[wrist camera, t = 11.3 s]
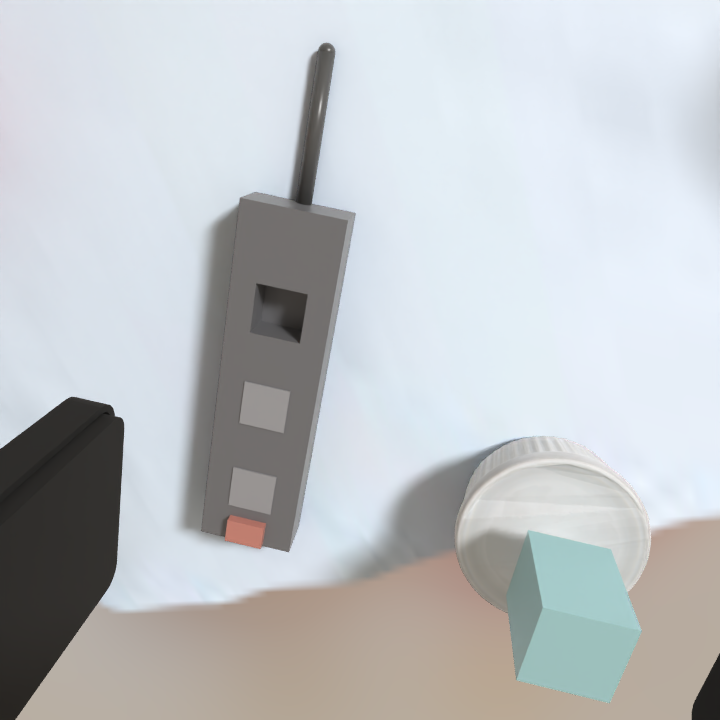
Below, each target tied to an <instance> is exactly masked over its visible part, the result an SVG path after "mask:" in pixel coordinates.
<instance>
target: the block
mask: <svg viewBox="0 0 720 720" xmlns="http://www.w3.org/2000/svg"><path fill="white" fill-rule="evenodd" d="M506 598H507V606H508V615H509V623H510V631H511V640H512V648H513V657H514V664H515V674H516V680H518V681H522V682H526V683H530V684H534V685H538V686H542V687H546V688H550V689H554V690H558V691H562V692H566V693H570V694H574V695H578V696H583V697H587V698H591V699H595V700H599V701H603V702H607V703H610V701H611V699H612V697H613V694H614V692H615V690H616V688H617V686H618V683H619V681H620V679H621V677H622V674H623V672H624V670H625V668H626V665H627V663H628V661H629V659H630V657H631V654H632V652H633V650H634V648H635V645H636V643H637V641H638V639H639V636H640V634H641V632H642V630H641V628H640V625H639V623H638V620H637V617H636V615H635V612H634V609H633V607H632V604H631V601H630V599H629V596H628V593H627V591H626V588H625V585H624V583H623V580H622V577H621V575H620V572H619V569H618V567H617V564H616V561H615V559H614V556H613V553H612V551H611V549H608V548H603V547H599V546H595V545H591V544H586V543H582V542H578V541H574V540H571V539H566V538H562V537H558V536H553V535H549V534H545V533H541V532H540V533H539V532H535V531H530V530H528V532H527V535H526V538H525V541H524V544H523V547H522V550H521V552H520V555H519V558H518V561H517V564H516V567H515V570H514V573H513V576H512V579H511V582H510V585H509V588H508V591H507V594H506Z"/></svg>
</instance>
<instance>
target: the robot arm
mask: <svg viewBox="0 0 720 720" xmlns="http://www.w3.org/2000/svg"><path fill="white" fill-rule="evenodd" d="M123 442H124V422H123V419H122V418H120V417H116V416H115V413H114V410H113V408H112V407H111V405H107V404H103V403H99V402H94V401H90V400H85V399H81V398H77V397H70V398H68V399H66V400H65V401H63V402H62V403H61V404H59V405H58V406H57V407H55V408H54V409H53V410H52V411H50V412H49V413H48V414H46V415H45V416H44V417H42V418H41V419H40V420H38V421H37V422H36V423H34V424H33V425H32V426H30V427H29V428H28V429H26V430H25V431H24V432H22V433H21V434H20V435H18V436H17V437H16V438H14V439H13V440H12V441H10V442H9V443H8V444H6V445H5V446H4V447H3V448H1V449H0V720H15V719H16V718H17V716H18V715H19V714H20V712H21V711H22V709H23V708H24V707H25V705H26V704H27V702H28V701H29V699H30V698H31V696H32V695H33V694H34V692H35V691H36V690H37V688H38V686H39V685H40V684H41V682H42V681H43V680H44V678H45V677H46V675H47V674H48V673H49V671H50V670H51V668H52V667H53V666H54V664H55V663H56V661H57V660H58V659H59V657H60V656H61V654H62V653H63V651H64V650H65V649H66V647H67V646H68V644H69V643H70V641H71V640H72V639H73V637H74V636H75V635H76V633H77V632H78V630H79V629H80V628H81V626H82V624H83V623H84V622H85V620H86V619H87V618H88V616H89V614H90V613H91V612H92V611H93V609H94V608H95V606H96V605H97V604H98V602H99V601H100V599H101V598H102V597H103V595H104V594H105V592H106V591H107V589H108V588H109V586H110V584H111V582H112V579H113V577H114V574H115V570H116V565H117V550H118V532H119V514H120V496H121V478H122V460H123ZM692 720H720V654H719V656H718V658H717V660H716V662H715V663H714V665H713V667H712V669H711V671H710V673H709V675H708V677H707V679H706V681H705V683H704V685H703V686H702V688H701V690H700V692H699V694H698V696H697V698H696V700H695V702H694V705H693V709H692Z"/></svg>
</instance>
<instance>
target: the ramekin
mask: <svg viewBox="0 0 720 720" xmlns="http://www.w3.org/2000/svg"><path fill="white" fill-rule="evenodd" d="M528 530H530V531H535V532H539V533H540V532H541V533H545V534H549V535H553V536H558V537H562V538H566V539H571V540H574V541H578V542H582V543H586V544H591V545H595V546H599V547H603V548H608V549H611V551H612V553H613V556H614V559H615V561H616V564H617V567H618V569H619V572H620V575H621V577H622V580H623V583H624V585H625V588H626V591H627V593H628V592H629V590H630V589H631V588H632V587H633V586H634V585H635V583H636V582H637V580H638V579H639V577H640V576H641V574H642V572H643V570H644V568H645V566H646V563H647V561H648V557H649V552H650V545H651V531H650V524H649V518H648V515H647V512H646V510H645V508H644V505H643V503H642V502H641V500H640V498H639V496H638V495H637V493H636V492H635V490H634V489H633V487H632V486H631V485H630V484H629V483H628V482H627V481H626V480H625V479H624V478H623V477H622V476H621V475H620V474H619V473H617V472H616V471H615V470H613V469H612V468H610V467H609V466H608V465H607V464H606V463H605V462H604V461H603V460H602V459H601V458H600V457H598V456H597V455H596V454H595V453H594V452H593V451H591V450H588V449H587V448H586V447H585V446H583V445H580V444H577V443H576V442H574V441H570V440H567V439H564V438H557V437H548V436H537V437H534V436H533V437H529V438H522V439H519V440H517V441H512V442H510V443H509V444H506V445H503V446H502V447H501V448H499V449H497V450H495V451H494V452H493V453H492V454H490V455H489V456H487V457H486V458H485V459H484V460H483V461H482V462H481V463H480V464H479V466H478V467H477V468H476V469H475V471H474V473H473V475H472V476H471V478H470V481H469V484H468V486H467V489H466V493H465V497H464V500H463V502H462V504H461V507H460V509H459V512H458V515H457V519H456V524H455V533H454V537H455V549H456V554H457V559H458V562H459V565H460V568H461V570H462V572H463V574H464V575H465V577H466V579H467V580H468V582H469V583H470V585H471V586H472V587H473V588H474V590H475V591H476V592H477V593H478V594H479V595H480V596H481V597H482V598H484V599H485V600H486V601H487V602H489V603H490V604H491V605H493V606H495V607H496V608H498V609H500V610H502V611H504V612H506V613H508V606H507V598H506V594H507V591H508V588H509V585H510V582H511V579H512V576H513V573H514V570H515V567H516V564H517V561H518V558H519V555H520V552H521V550H522V547H523V544H524V541H525V538H526V535H527V532H528Z"/></svg>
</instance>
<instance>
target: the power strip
mask: <svg viewBox="0 0 720 720" xmlns="http://www.w3.org/2000/svg"><path fill="white" fill-rule="evenodd" d="M334 58H335V49H334V47H333V46H332V45H331V44H330V43H323V44H322V45H321V46H320V47H319V50H318V56H317V63H316V70H315V76H314V83H313V90H312V97H311V104H310V110H309V117H308V124H307V131H306V137H305V144H304V151H303V158H302V165H301V171H300V178H299V185H298V192H297V198H296V201H295V200H291V199H286V198H281V197H276V196H272V195H267V194H262V193H257V192H254V193H252V194H249V195H246V196H243V197H240V202H239V211H238V219H237V228H236V236H235V245H234V254H233V262H232V271H231V280H230V288H229V297H228V305H227V314H226V323H225V331H224V340H223V348H222V357H221V366H220V374H219V383H218V391H217V400H216V409H215V417H214V426H213V435H212V443H211V452H210V460H209V469H208V478H207V486H206V495H205V503H204V512H203V521H202V529H201V531H203V532H207V533H211V534H215V535H220V536H224V537H225V541H229V542H234V543H238V544H242V545H246V546H250V547H254V548H258V549H261V547H262V546H265V547H269V548H273V549H278V550H282V551H286V552H289V551H290V548H291V545H292V543H293V540H294V537H295V535H296V532H297V529H298V527H299V522H300V517H301V511H302V506H303V500H304V495H305V489H306V484H307V478H308V473H309V467H310V462H311V456H312V451H313V445H314V440H315V434H316V429H317V423H318V418H319V412H320V407H321V401H322V396H323V390H324V385H325V379H326V374H327V368H328V362H329V357H330V351H331V346H332V340H333V335H334V329H335V324H336V318H337V313H338V307H339V302H340V296H341V291H342V285H343V280H344V274H345V269H346V263H347V258H348V252H349V247H350V241H351V236H352V230H353V225H354V219H355V214H356V213H353V212H348V211H343V210H338V209H334V208H329V207H324V206H319V205H315V204H312V198H313V192H314V186H315V179H316V173H317V166H318V160H319V154H320V147H321V141H322V134H323V128H324V122H325V115H326V109H327V102H328V96H329V90H330V83H331V77H332V70H333V64H334Z"/></svg>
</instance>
